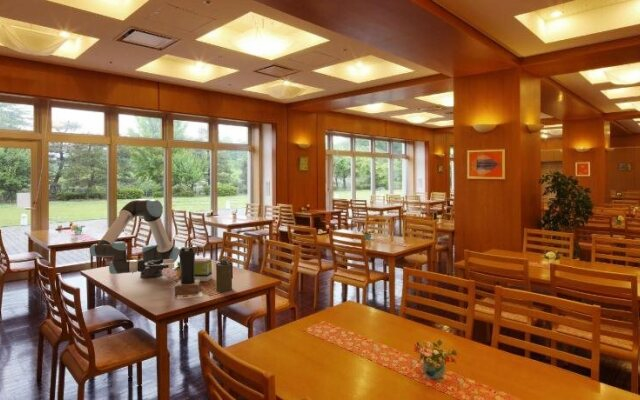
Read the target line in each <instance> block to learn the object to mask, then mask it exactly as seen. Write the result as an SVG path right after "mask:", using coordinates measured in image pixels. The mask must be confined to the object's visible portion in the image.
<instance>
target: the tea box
mask: <svg viewBox="0 0 640 400" xmlns="http://www.w3.org/2000/svg"><path fill="white" fill-rule="evenodd" d="M212 261H213V260H212V258H195V280H198V279H200V282H208V281H210V280H211V279H212V278H213V266H212V265H213V264H212Z"/></svg>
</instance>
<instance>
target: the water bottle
mask: <svg viewBox="0 0 640 400" xmlns="http://www.w3.org/2000/svg"><path fill="white" fill-rule="evenodd" d="M180 249H181V250H179V255H178V258H179V275H180V280H181V284H192V283H194V282H195V259H196V251H195V248H194V247H193V246H191V247H186V246H182V247H180Z"/></svg>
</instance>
